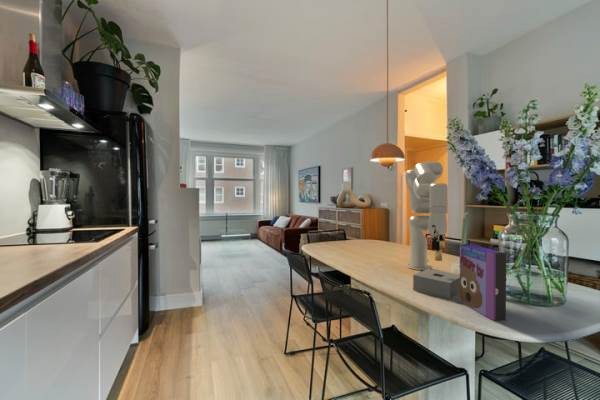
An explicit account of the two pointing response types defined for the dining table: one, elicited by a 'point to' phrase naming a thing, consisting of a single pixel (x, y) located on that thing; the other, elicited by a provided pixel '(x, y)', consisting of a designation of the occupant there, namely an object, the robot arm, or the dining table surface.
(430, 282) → the block
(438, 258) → the brass pin
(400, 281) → the dining table surface
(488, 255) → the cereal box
